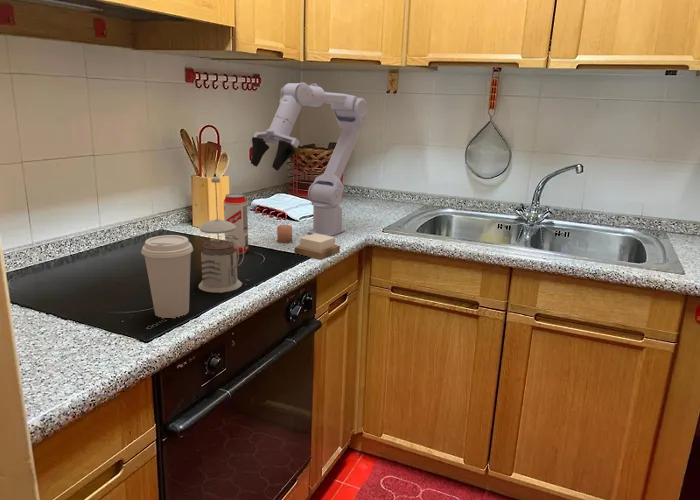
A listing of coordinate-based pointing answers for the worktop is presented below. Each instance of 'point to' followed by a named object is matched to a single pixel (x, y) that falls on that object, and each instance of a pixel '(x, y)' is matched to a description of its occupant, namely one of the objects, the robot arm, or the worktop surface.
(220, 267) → the french press
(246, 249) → the beer can
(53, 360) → the worktop surface
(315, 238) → the cream slab
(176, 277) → the coffee cup
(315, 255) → the walnut base slab
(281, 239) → the terracotta cylinder
